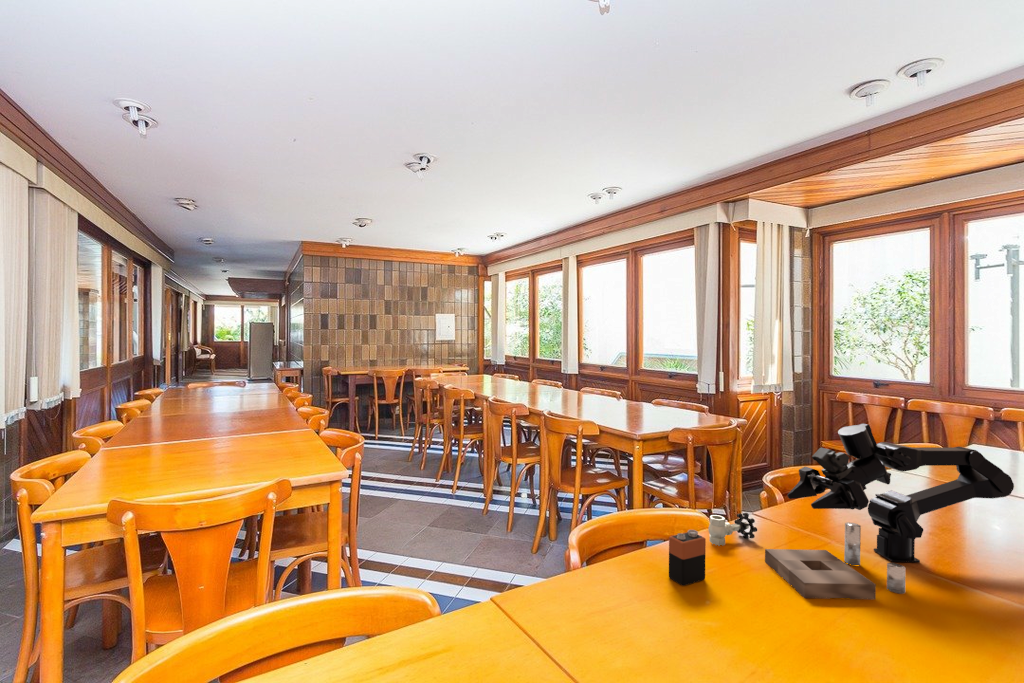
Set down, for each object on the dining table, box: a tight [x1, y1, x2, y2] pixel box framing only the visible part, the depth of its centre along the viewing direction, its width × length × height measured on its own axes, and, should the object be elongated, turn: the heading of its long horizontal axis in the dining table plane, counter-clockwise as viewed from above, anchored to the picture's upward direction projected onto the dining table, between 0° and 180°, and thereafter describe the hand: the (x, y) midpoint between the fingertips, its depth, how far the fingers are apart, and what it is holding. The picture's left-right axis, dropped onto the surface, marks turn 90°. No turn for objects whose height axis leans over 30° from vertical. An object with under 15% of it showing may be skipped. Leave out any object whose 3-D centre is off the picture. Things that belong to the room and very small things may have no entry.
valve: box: [708, 512, 758, 547], centre depth 126 cm, size 7×7×12 cm
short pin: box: [886, 562, 906, 595], centre depth 102 cm, size 3×3×5 cm
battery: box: [668, 529, 707, 587], centre depth 106 cm, size 4×7×10 cm, turn 117°
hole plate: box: [764, 548, 877, 600], centre depth 106 cm, size 14×16×3 cm
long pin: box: [843, 521, 862, 566], centre depth 114 cm, size 3×3×9 cm
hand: (799, 501), depth 116 cm, fingers open, 9 cm apart
